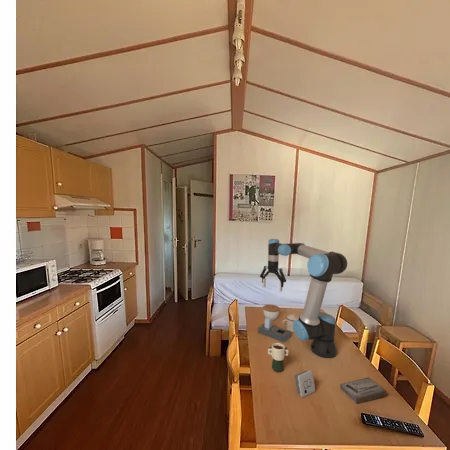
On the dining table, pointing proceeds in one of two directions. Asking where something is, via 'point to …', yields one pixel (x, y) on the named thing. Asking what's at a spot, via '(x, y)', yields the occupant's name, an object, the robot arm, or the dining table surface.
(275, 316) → the lidded bowl
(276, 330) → the battery charging station
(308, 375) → the electrical switch
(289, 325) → the teacup with lid
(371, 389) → the box
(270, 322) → the plug
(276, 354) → the character mug
